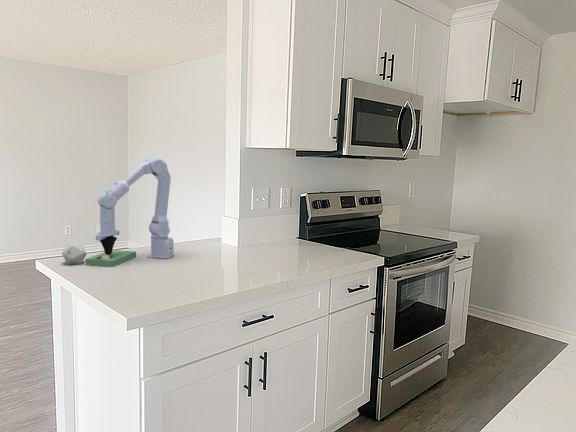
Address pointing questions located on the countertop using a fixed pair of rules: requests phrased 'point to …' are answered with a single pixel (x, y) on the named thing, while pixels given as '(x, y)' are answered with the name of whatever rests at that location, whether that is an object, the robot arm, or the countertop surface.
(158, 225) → the robot arm
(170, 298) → the countertop surface
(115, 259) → the green
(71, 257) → the die
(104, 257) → the ball
